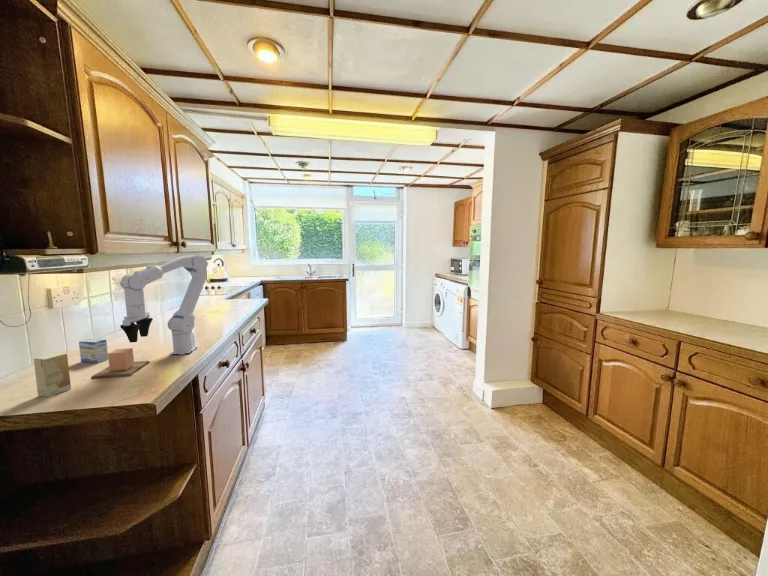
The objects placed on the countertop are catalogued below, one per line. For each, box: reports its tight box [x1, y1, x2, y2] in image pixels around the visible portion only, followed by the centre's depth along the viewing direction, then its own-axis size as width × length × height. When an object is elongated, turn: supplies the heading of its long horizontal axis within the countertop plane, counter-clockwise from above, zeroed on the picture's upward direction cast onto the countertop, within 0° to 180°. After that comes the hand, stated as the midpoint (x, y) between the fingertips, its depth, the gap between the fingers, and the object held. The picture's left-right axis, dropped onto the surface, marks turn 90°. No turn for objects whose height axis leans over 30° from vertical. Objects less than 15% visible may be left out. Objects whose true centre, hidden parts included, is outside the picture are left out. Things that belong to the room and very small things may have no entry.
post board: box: [90, 360, 150, 380], centre depth 115 cm, size 13×12×7 cm
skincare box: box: [33, 352, 72, 398], centre depth 97 cm, size 6×4×12 cm
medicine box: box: [78, 338, 109, 364], centre depth 124 cm, size 8×4×9 cm, turn 84°
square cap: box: [107, 347, 135, 371], centre depth 114 cm, size 5×5×7 cm
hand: (139, 339), depth 119 cm, fingers open, 7 cm apart
